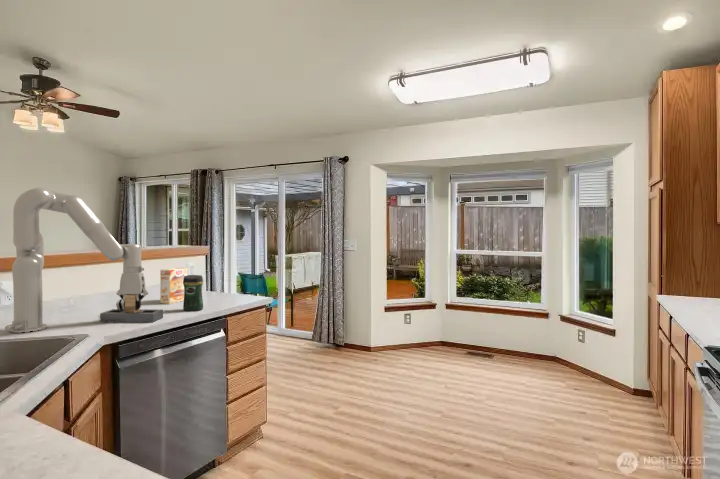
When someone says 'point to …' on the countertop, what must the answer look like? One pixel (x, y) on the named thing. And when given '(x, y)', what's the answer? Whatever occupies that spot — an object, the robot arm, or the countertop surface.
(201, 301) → the coffee jar
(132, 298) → the peg
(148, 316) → the rail
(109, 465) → the countertop surface
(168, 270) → the coffeecake box
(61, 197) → the robot arm
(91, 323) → the countertop surface
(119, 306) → the hinge
